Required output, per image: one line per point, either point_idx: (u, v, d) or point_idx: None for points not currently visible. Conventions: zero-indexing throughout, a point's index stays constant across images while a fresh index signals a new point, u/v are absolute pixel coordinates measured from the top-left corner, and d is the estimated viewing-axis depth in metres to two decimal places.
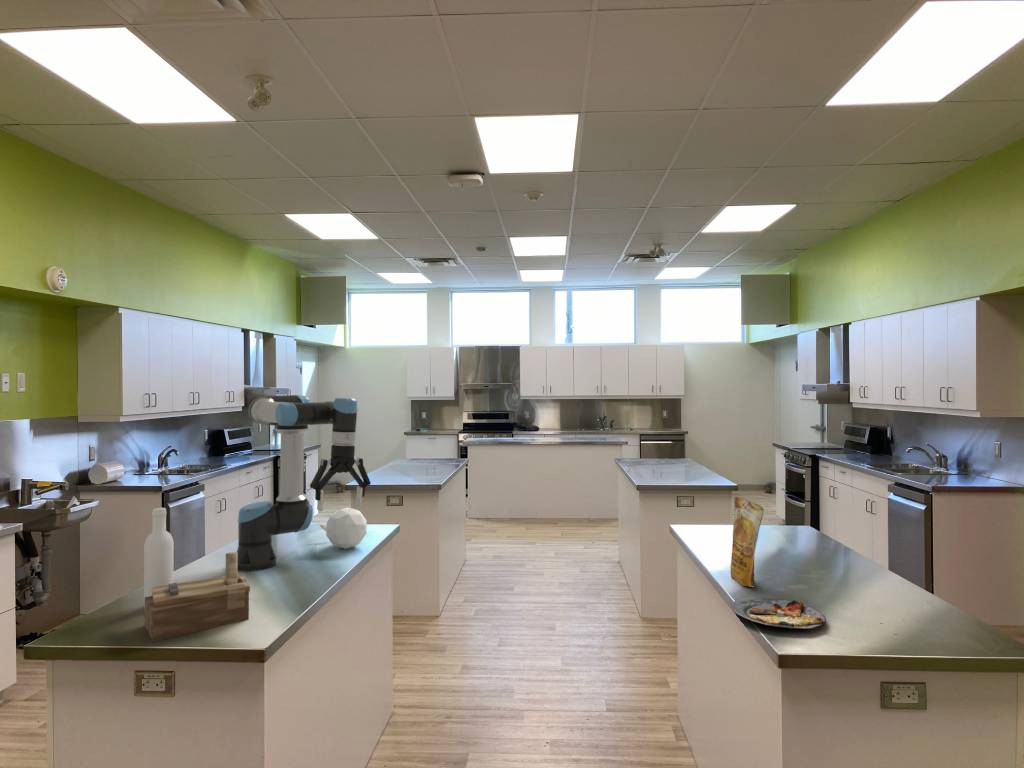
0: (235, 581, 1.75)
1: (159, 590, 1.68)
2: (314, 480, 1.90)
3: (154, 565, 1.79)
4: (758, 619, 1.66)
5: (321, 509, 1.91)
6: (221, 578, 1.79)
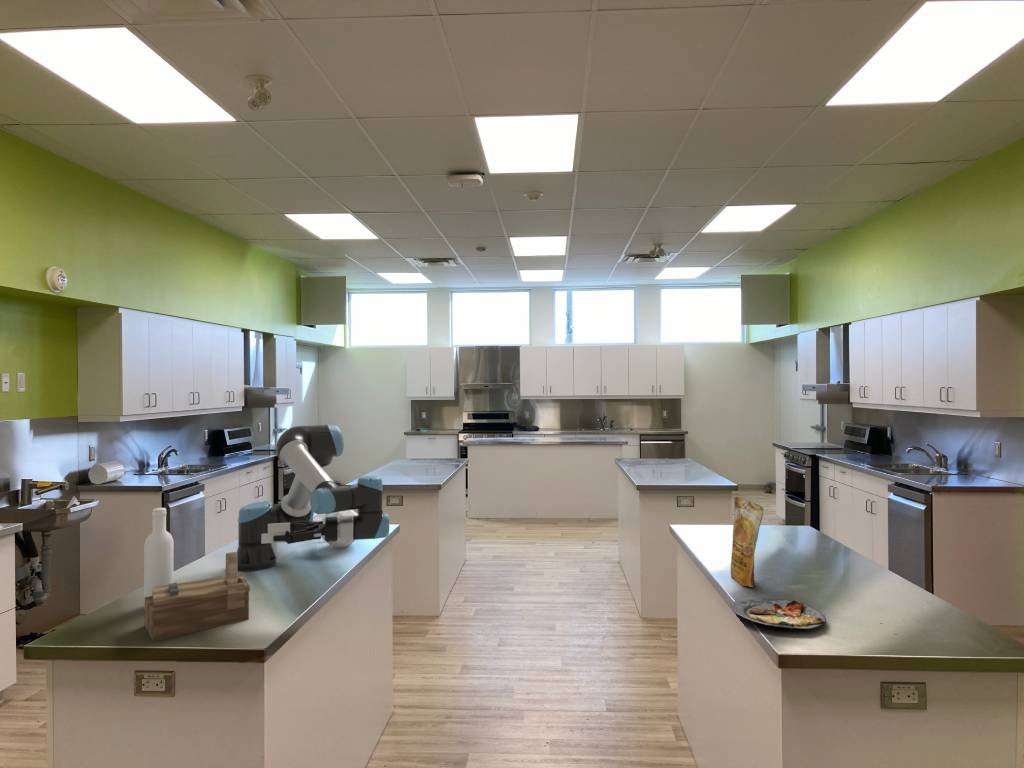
0: (235, 581, 1.75)
1: (159, 590, 1.68)
2: (296, 538, 1.71)
3: (154, 565, 1.79)
4: (758, 619, 1.66)
5: None
6: (221, 578, 1.79)
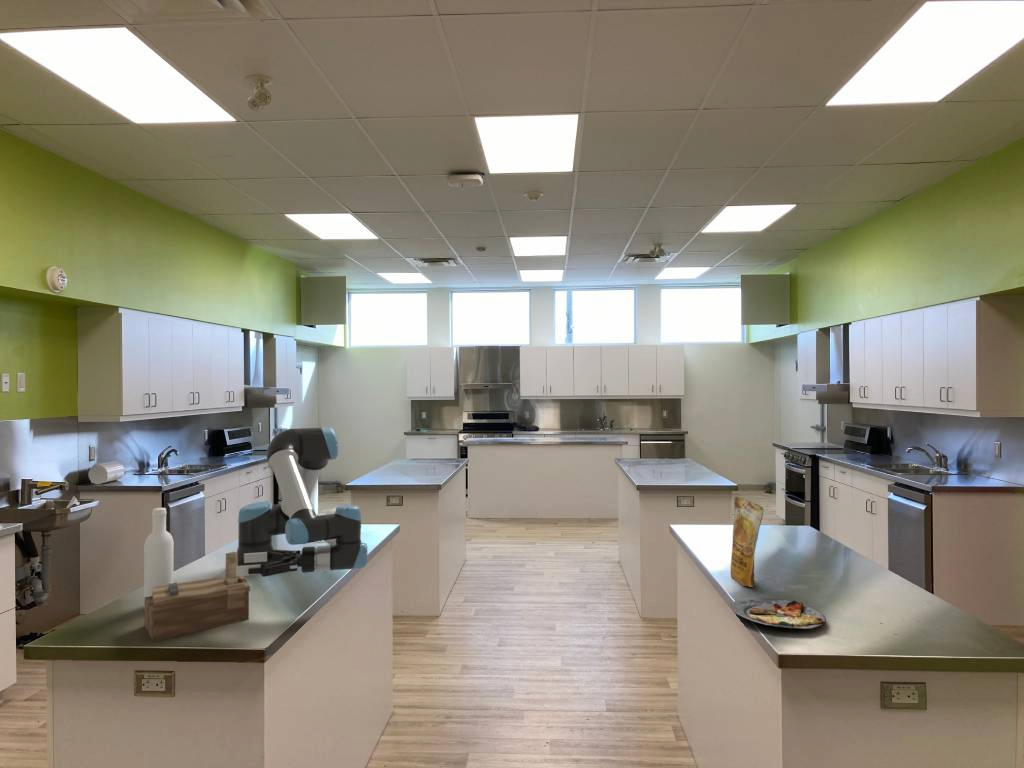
0: (235, 581, 1.75)
1: (159, 590, 1.68)
2: (272, 571, 1.69)
3: (154, 565, 1.79)
4: (758, 619, 1.66)
5: None
6: (221, 578, 1.79)
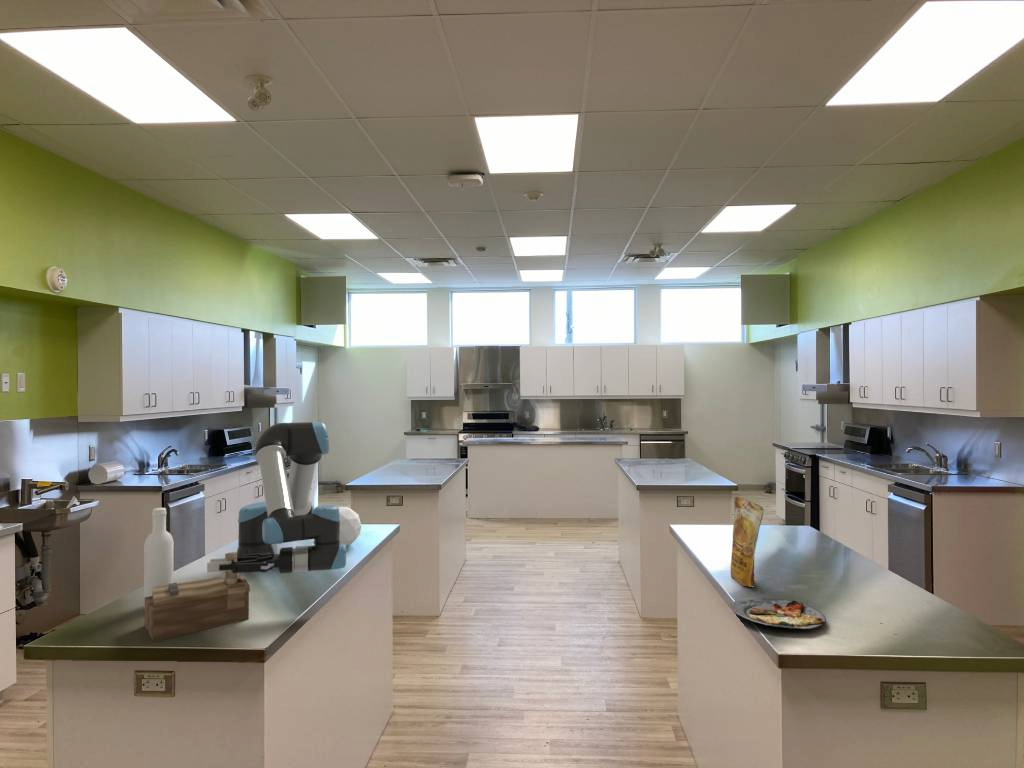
0: (235, 581, 1.75)
1: (159, 590, 1.68)
2: (241, 569, 1.71)
3: (154, 565, 1.79)
4: (758, 619, 1.66)
5: None
6: (221, 578, 1.79)
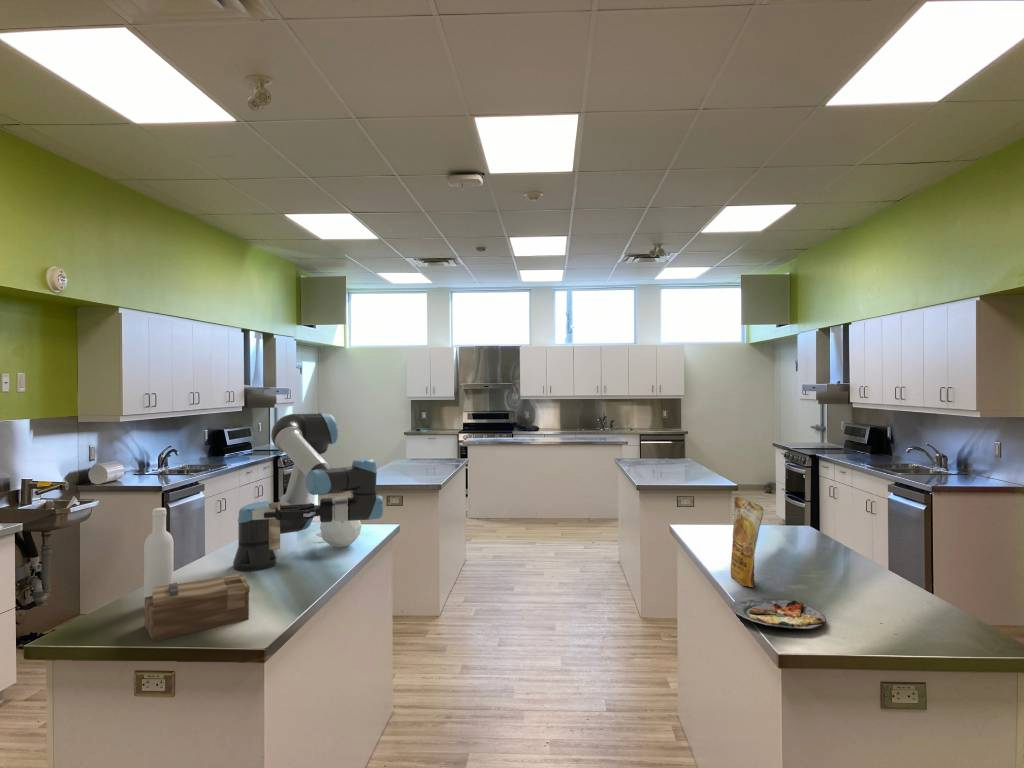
0: (278, 529, 1.83)
1: (159, 590, 1.68)
2: (285, 516, 1.79)
3: (154, 565, 1.79)
4: (758, 619, 1.66)
5: (254, 519, 1.80)
6: (221, 578, 1.79)
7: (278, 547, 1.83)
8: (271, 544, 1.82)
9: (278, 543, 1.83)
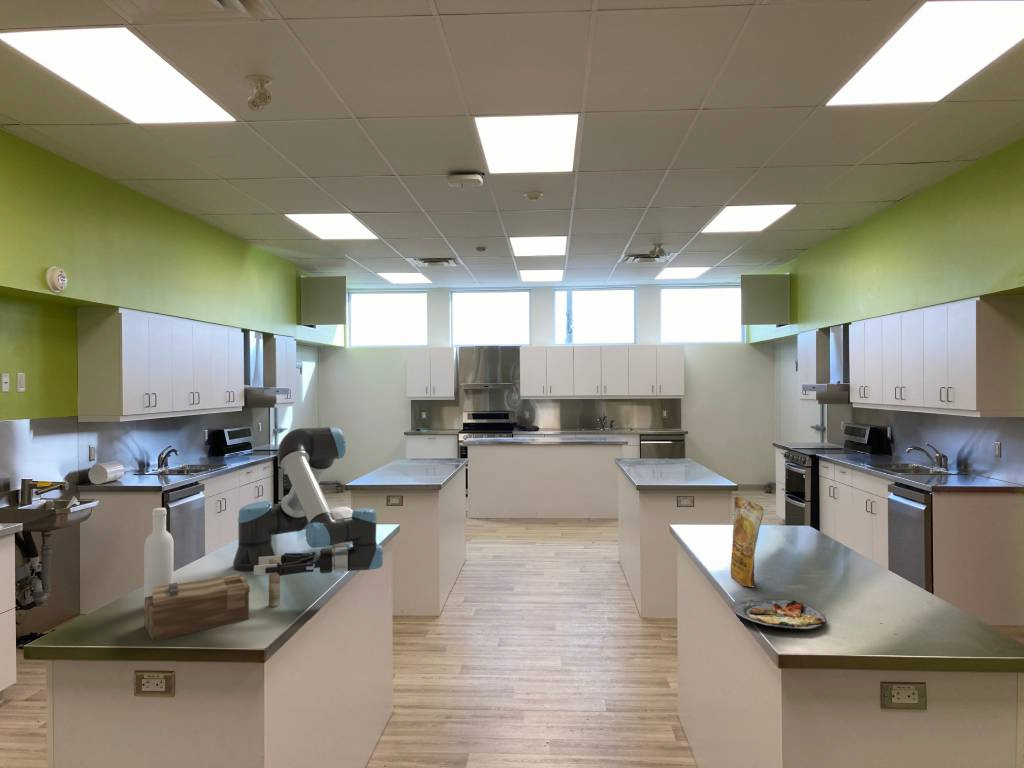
0: (278, 586, 1.83)
1: (159, 590, 1.68)
2: (287, 571, 1.77)
3: (154, 565, 1.79)
4: (758, 619, 1.66)
5: None
6: (221, 578, 1.79)
7: (278, 604, 1.82)
8: (271, 601, 1.82)
9: (278, 600, 1.82)
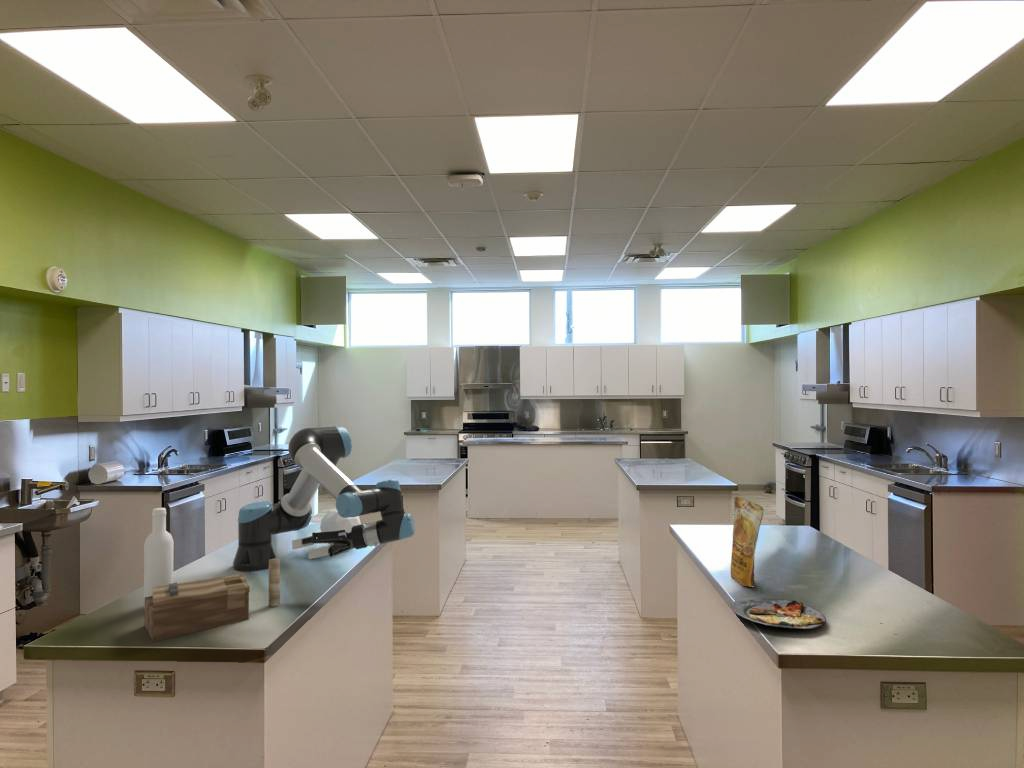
0: (278, 586, 1.83)
1: (159, 590, 1.68)
2: (321, 536, 1.82)
3: (154, 565, 1.79)
4: (758, 619, 1.66)
5: (294, 548, 1.83)
6: (221, 578, 1.79)
7: (278, 604, 1.82)
8: (271, 601, 1.82)
9: (278, 600, 1.82)
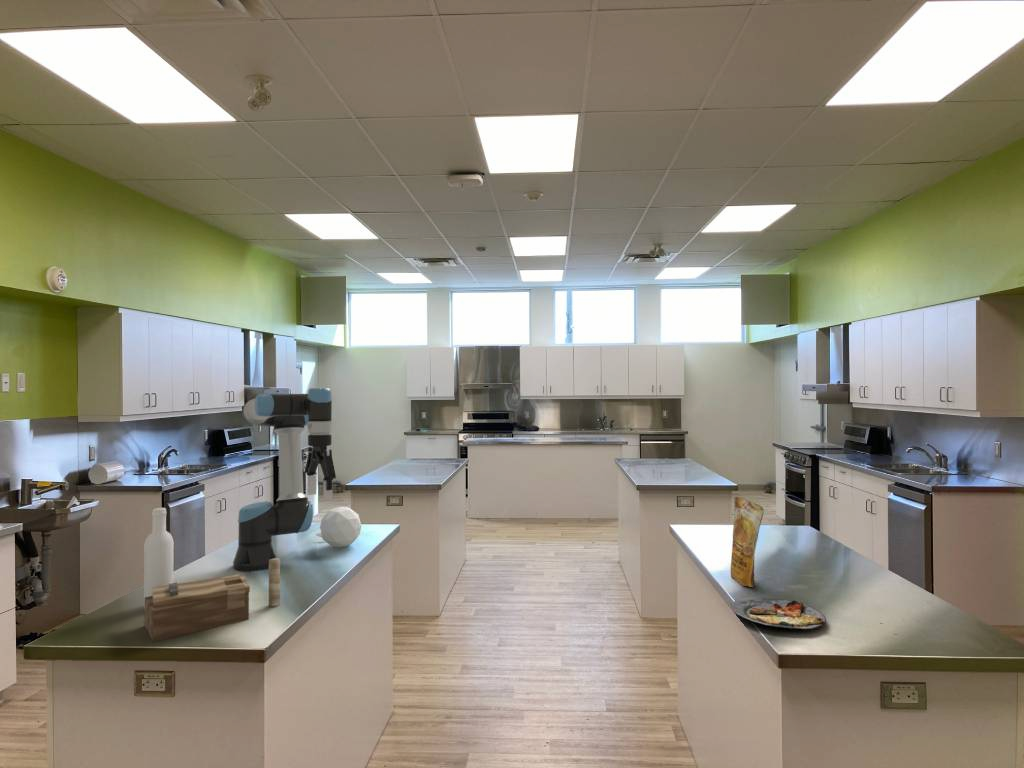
0: (278, 586, 1.83)
1: (159, 590, 1.68)
2: None
3: (154, 565, 1.79)
4: (758, 619, 1.66)
5: None
6: (221, 578, 1.79)
7: (278, 604, 1.82)
8: (271, 601, 1.82)
9: (278, 600, 1.82)
